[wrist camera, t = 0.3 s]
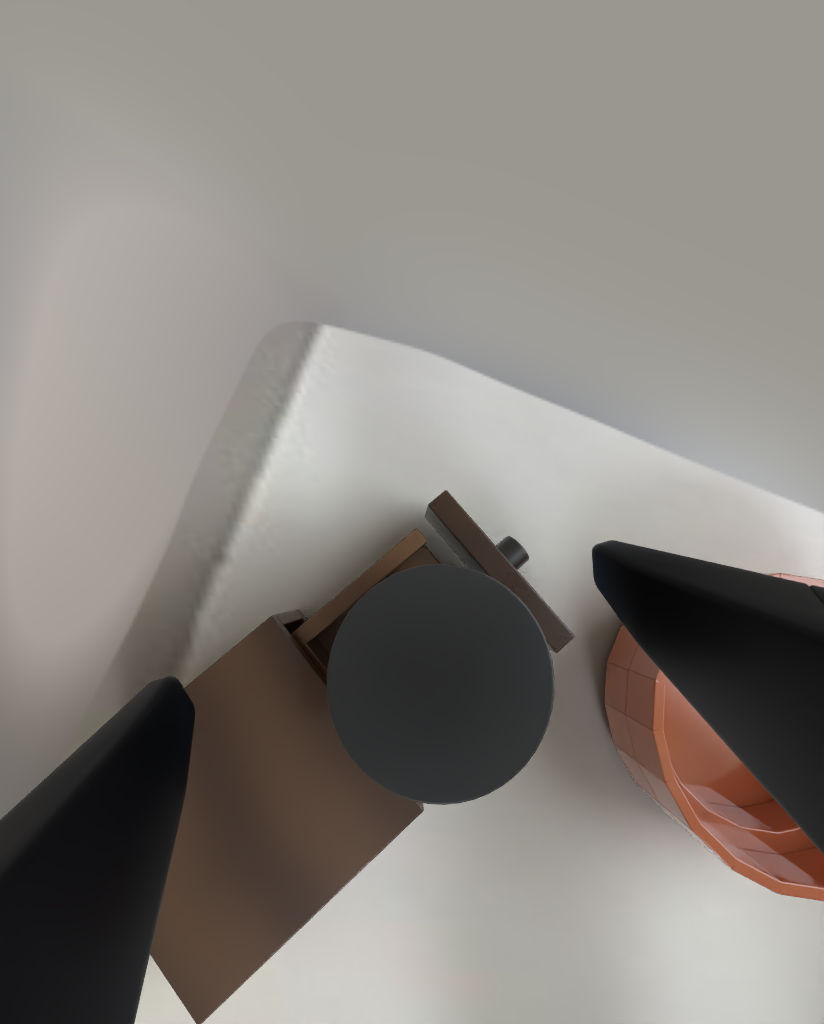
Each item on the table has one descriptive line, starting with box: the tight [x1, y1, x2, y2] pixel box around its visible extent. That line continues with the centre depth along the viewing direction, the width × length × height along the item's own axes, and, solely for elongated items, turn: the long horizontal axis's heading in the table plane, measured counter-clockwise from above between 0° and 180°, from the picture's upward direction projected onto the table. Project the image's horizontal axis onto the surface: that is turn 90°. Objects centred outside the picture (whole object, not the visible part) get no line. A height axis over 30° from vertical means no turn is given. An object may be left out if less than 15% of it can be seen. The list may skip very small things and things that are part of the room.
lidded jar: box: [327, 564, 554, 805], centre depth 16 cm, size 6×6×11 cm
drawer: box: [291, 490, 574, 680], centre depth 21 cm, size 12×9×3 cm
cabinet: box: [150, 609, 424, 1024], centre depth 20 cm, size 11×10×5 cm
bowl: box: [604, 573, 824, 901], centre depth 21 cm, size 13×13×5 cm
